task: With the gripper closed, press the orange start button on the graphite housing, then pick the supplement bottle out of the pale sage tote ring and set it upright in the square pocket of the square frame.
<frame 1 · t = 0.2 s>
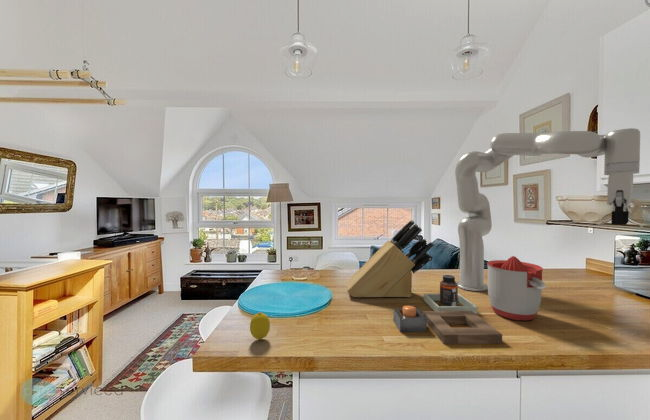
hand: (620, 223, 86), 31 cm above the countertop, tool pointing down, fingers open, 9 cm apart
citrus juicer: (515, 315, 92), on the countertop
button housing: (409, 325, 85), on the countertop
supplement bottle: (448, 307, 100), resting in tote ring
lemon: (260, 340, 78), on the countertop
tote ring: (448, 306, 100), on the countertop
knife block: (388, 294, 115), on the countertop
square frame: (458, 329, 82), on the countertop
start button: (409, 314, 85), point 4 cm above the countertop, slide at 0.0 cm
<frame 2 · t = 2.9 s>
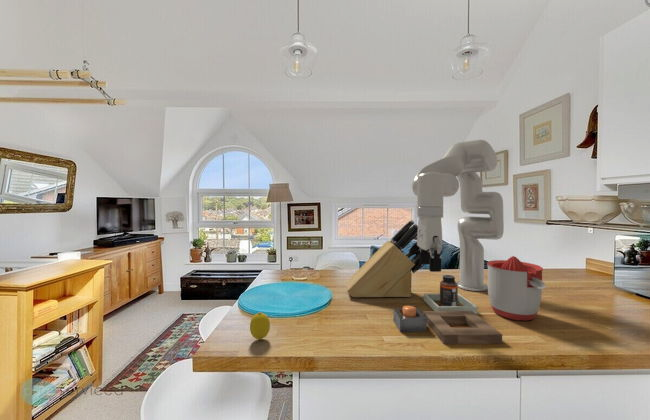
hand: (429, 267, 85), 18 cm above the countertop, tool pointing down, fingers open, 9 cm apart
nothing on the countertop moved.
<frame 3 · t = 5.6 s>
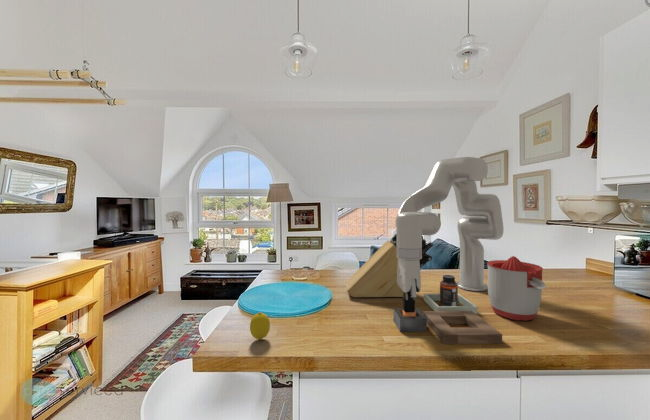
hand: (409, 311, 85), 5 cm above the countertop, tool pointing down, fingers closed
start button: (409, 317, 85), point 3 cm above the countertop, slide at 1.0 cm, touching gripper
everything else where it was.
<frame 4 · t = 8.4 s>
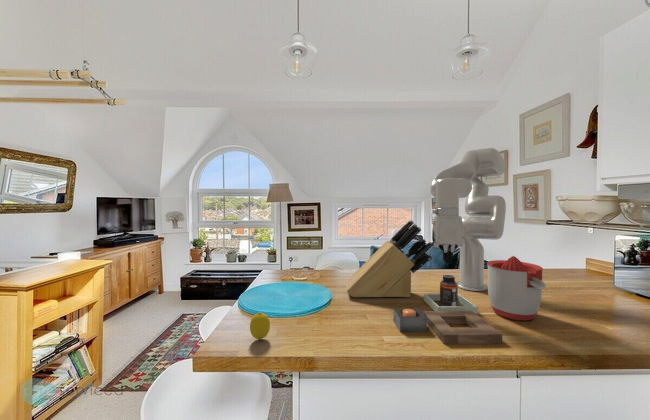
hand: (447, 262, 99), 16 cm above the countertop, tool pointing down, fingers closed
start button: (409, 317, 85), point 3 cm above the countertop, slide at 1.1 cm
everything else where it was.
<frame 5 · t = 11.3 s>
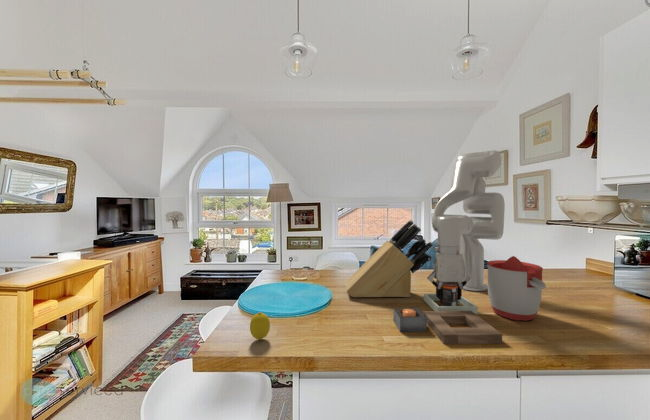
hand: (448, 298, 100), 3 cm above the countertop, tool pointing down, fingers closed on supplement bottle, 6 cm apart
supplement bottle: (448, 307, 100), resting in tote ring, touching gripper
everything else where it was.
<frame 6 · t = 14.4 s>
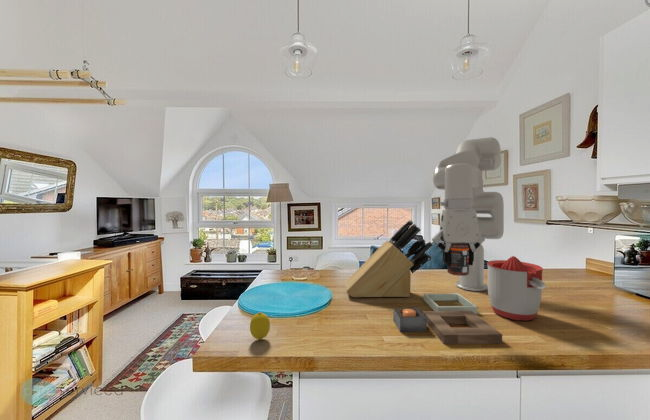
hand: (458, 263, 83), 20 cm above the countertop, tool pointing down, fingers closed on supplement bottle, 6 cm apart
supplement bottle: (458, 274, 83), point 17 cm above the countertop, touching gripper
everything else where it was.
when the fingers open (5 cm above the countertop, at t = 17.8 s): supplement bottle drops 2 cm, resting in square frame.
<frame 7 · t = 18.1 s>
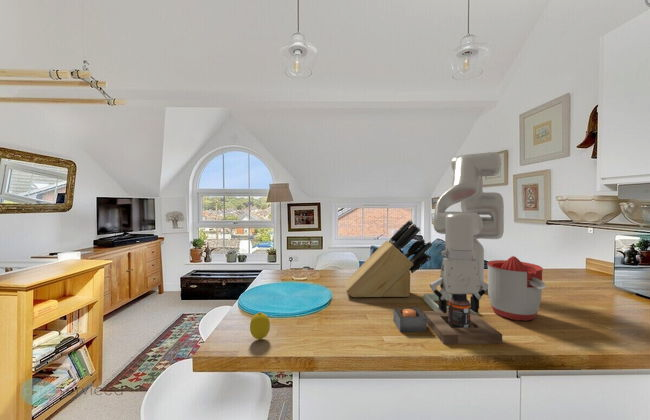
hand: (458, 311, 82), 6 cm above the countertop, tool pointing down, fingers open, 9 cm apart
supplement bottle: (459, 330, 83), resting in square frame
everything else where it was.
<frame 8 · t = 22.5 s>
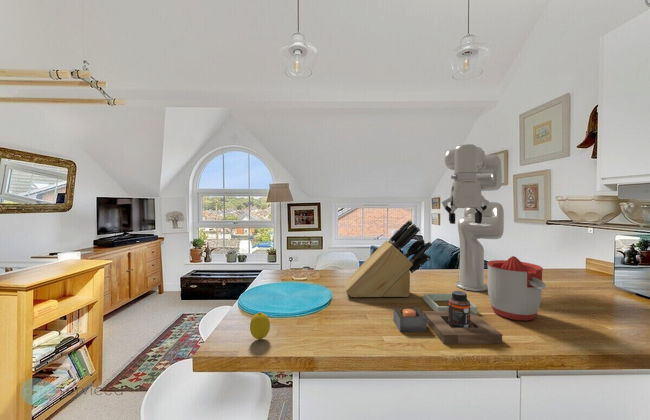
hand: (465, 223, 103), 30 cm above the countertop, tool pointing down, fingers open, 9 cm apart
nothing on the countertop moved.
at the end: start button slide at 1.1 cm; supplement bottle 0.4 cm off-centre on the square frame, point 0.0 cm above the square frame's base; supplement bottle tilted 0° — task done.
